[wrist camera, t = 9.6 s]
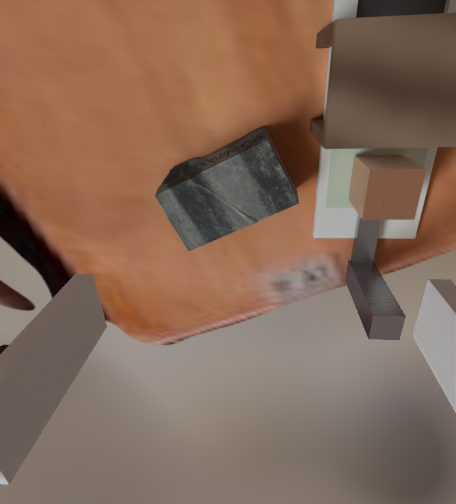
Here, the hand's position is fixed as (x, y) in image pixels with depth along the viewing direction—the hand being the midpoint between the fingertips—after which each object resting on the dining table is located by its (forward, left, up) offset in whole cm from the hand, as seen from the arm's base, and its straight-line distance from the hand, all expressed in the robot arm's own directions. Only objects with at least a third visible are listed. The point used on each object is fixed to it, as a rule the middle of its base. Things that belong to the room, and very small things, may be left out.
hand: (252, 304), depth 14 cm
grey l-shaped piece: (+8, +13, -27) cm, 31 cm away
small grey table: (-7, +13, -29) cm, 32 cm away
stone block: (+3, -4, -29) cm, 30 cm away
